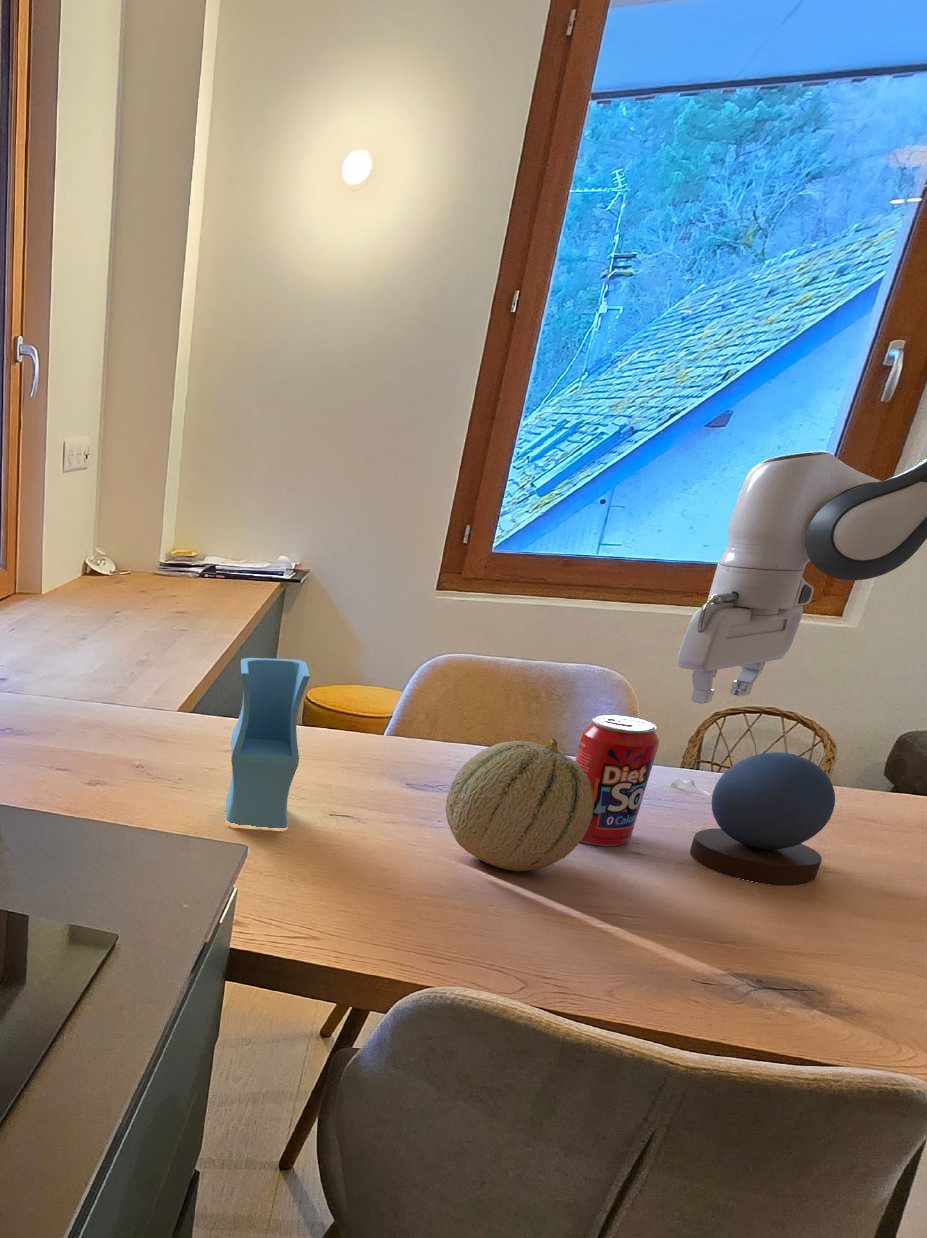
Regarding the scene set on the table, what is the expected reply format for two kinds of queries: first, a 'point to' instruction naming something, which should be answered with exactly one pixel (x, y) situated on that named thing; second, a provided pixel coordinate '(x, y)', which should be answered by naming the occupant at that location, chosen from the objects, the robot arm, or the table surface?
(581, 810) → the cantaloupe
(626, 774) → the soda can
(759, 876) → the blue egg sculpture
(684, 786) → the small white plastic part
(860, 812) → the table surface
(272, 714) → the vase
